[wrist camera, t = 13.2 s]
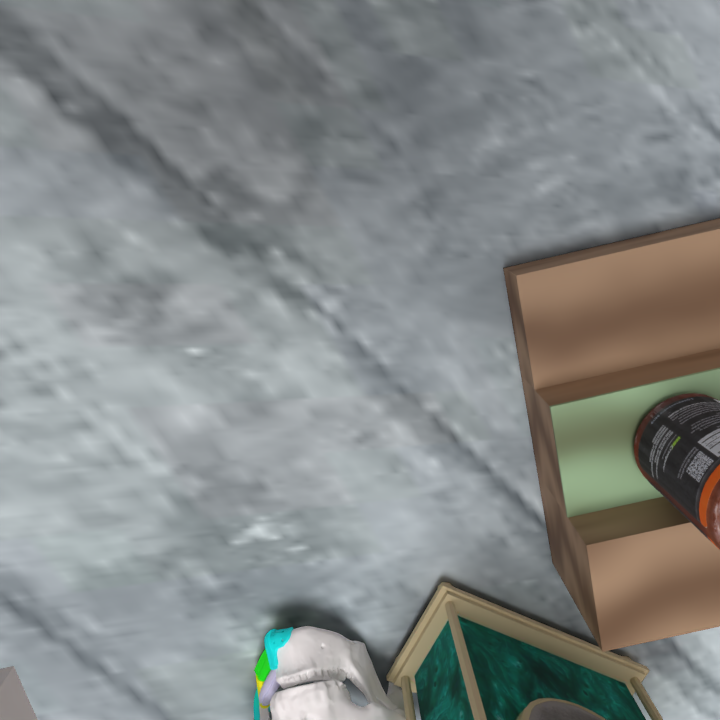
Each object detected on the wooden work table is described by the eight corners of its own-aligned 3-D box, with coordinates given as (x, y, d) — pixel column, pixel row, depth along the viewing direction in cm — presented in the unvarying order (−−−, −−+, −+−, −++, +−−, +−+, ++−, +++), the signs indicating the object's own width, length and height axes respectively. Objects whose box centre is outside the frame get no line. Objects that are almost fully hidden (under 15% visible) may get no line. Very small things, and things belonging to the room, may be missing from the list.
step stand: (503, 268, 41) (548, 294, 33) (789, 201, 41) (912, 211, 32) (552, 562, 47) (602, 651, 38) (803, 507, 47) (910, 584, 38)
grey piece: (375, 598, 44) (415, 767, 39) (394, 612, 52) (428, 754, 47) (199, 646, 44) (218, 817, 40) (243, 652, 52) (263, 796, 48)
